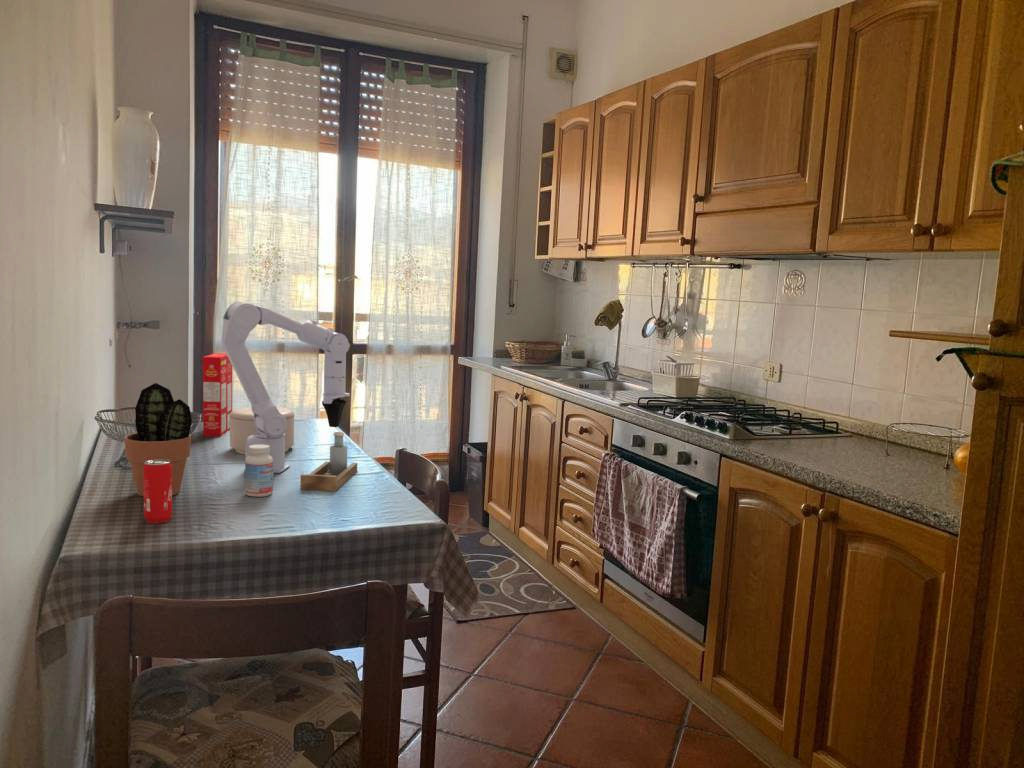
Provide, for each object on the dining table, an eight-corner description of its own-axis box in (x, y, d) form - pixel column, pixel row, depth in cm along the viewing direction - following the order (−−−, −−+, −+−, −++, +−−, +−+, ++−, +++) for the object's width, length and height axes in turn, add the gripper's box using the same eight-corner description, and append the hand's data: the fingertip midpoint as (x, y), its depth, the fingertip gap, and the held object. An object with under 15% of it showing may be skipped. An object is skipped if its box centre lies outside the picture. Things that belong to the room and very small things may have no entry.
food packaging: (216, 428, 257) (215, 353, 254) (232, 428, 257) (232, 353, 254) (203, 436, 242) (202, 356, 239) (220, 436, 243) (220, 357, 240)
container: (302, 453, 224) (303, 413, 222) (239, 458, 213) (239, 416, 212) (283, 442, 238) (283, 404, 237) (222, 446, 228) (222, 407, 227)
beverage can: (149, 516, 158) (149, 458, 156) (176, 516, 158) (175, 459, 157) (139, 523, 152) (138, 464, 151) (166, 524, 153) (166, 464, 151)
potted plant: (126, 503, 166) (124, 388, 163) (124, 487, 178) (123, 380, 175) (194, 497, 173) (193, 386, 170) (188, 483, 185) (187, 379, 182)
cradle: (300, 489, 183) (300, 475, 183) (325, 469, 204) (325, 456, 204) (335, 491, 183) (335, 476, 182) (357, 471, 204) (357, 458, 203)
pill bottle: (264, 498, 174) (264, 449, 173) (239, 496, 175) (239, 447, 174) (277, 492, 180) (278, 444, 179) (253, 489, 181) (254, 442, 180)
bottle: (327, 474, 199) (328, 434, 198) (332, 470, 203) (332, 431, 202) (344, 475, 199) (345, 434, 197) (348, 471, 203) (349, 431, 202)
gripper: (342, 380, 201) (341, 431, 202) (356, 374, 215) (355, 422, 217) (315, 379, 201) (315, 430, 203) (331, 373, 216) (330, 421, 217)
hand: (334, 426), depth 210 cm, fingers closed
